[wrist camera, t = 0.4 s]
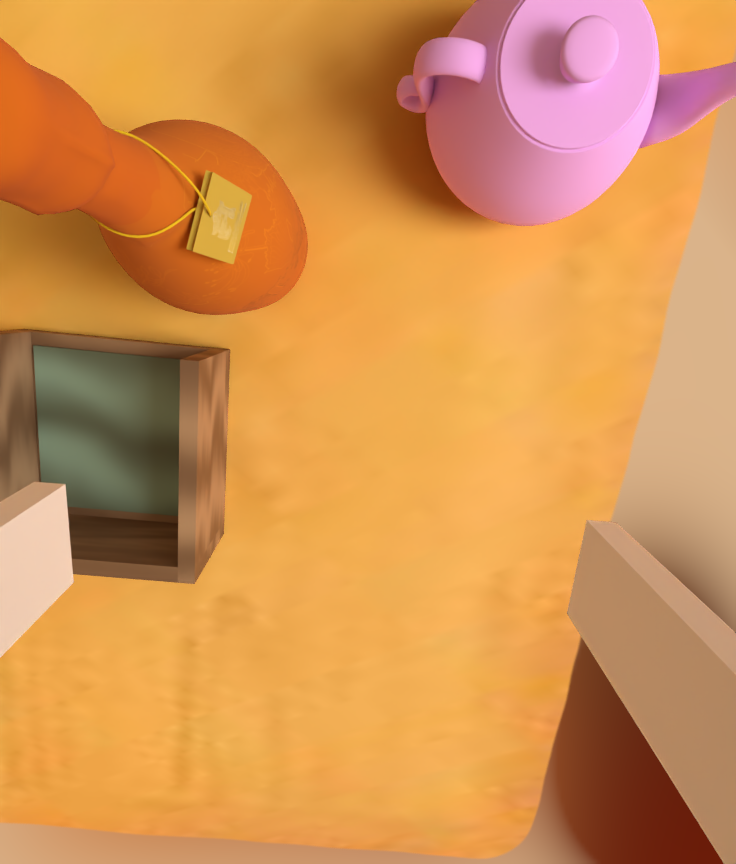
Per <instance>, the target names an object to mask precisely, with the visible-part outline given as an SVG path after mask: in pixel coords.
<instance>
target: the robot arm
mask: <svg viewBox="0 0 736 864" xmlns="http://www.w3.org/2000/svg"><path fill="white" fill-rule="evenodd" d="M73 582H74V581H73V569H72V557H71V545H70V533H69V521H68V509H67V497H66V484H58V483H43V482H33V483H31V484H30V485H28V486H26V487H24V488H23V489H21V490H19V491H18V492H16V493H14V494H13V495H11V496H9V497H8V498H6V499H4V500H3V501H1V502H0V657H1V656H2V655H3V654H4V653H5V652H6V651H7V650H8V649H9V648H10V647H11V646H12V645H13V644H14V643H15V642H16V641H17V640H18V639H19V638H20V637H21V636H22V635H23V634H24V633H25V632H26V631H27V630H28V629H29V627H30V626H31V625H32V624H33V623H34V622H35V621H36V620H37V619H38V618H39V617H40V616H41V615H42V614H43V613H44V612H45V611H46V610H47V609H48V608H49V607H50V606H51V605H52V604H53V603H54V602H55V601H56V600H57V599H58V598H59V597H60V596H61V595H62V594H63V593H64V592H65V591H66V590H67V589H68V588H69V586H70V585H71V584H72V583H73ZM567 614H568V616H569V618H570V619H571V621H572V622H573V624H574V626H575V627H576V629H577V630H578V632H579V633H580V635H581V637H582V638H583V640H584V641H585V643H586V645H587V646H588V648H589V649H590V651H591V652H592V654H593V656H594V657H595V659H596V661H597V662H598V663H599V665H600V667H601V668H602V670H603V672H604V673H605V675H606V676H607V678H608V680H609V681H610V683H611V684H612V686H613V688H614V689H615V691H616V692H617V694H618V696H619V697H620V699H621V700H622V702H623V703H624V705H625V706H626V708H627V710H628V712H629V713H630V714H631V716H632V718H633V719H634V721H635V723H636V724H637V726H638V727H639V729H640V730H641V732H642V734H643V735H644V737H645V738H646V740H647V742H648V743H649V745H650V747H651V748H652V750H653V751H654V753H655V754H656V756H657V757H658V759H659V761H660V762H661V764H662V766H663V767H664V769H665V770H666V772H667V774H668V775H669V777H670V778H671V780H672V782H673V783H674V785H675V786H676V788H677V789H678V791H679V793H680V794H681V796H682V797H683V799H684V801H685V802H686V804H687V805H688V807H689V808H690V810H691V812H692V813H693V815H694V817H695V818H696V820H697V821H698V823H699V825H700V826H701V828H702V829H703V831H704V832H705V834H706V836H707V837H708V839H709V840H710V842H711V844H712V845H713V847H714V848H715V850H716V851H717V853H718V855H719V856H720V858H721V860H722V861H723V863H724V864H736V632H734V631H733V630H732V629H731V628H730V627H729V626H728V625H727V624H725V623H724V622H723V621H722V620H721V619H720V618H719V617H718V616H717V615H716V614H714V613H713V611H711V610H710V609H709V608H708V607H707V606H706V605H705V604H704V603H703V602H702V601H700V600H699V599H698V598H697V597H696V596H695V595H694V594H693V593H692V592H691V591H690V590H689V589H688V588H686V587H685V586H684V585H683V584H682V583H681V582H680V581H679V580H678V579H677V578H676V577H675V576H674V575H673V574H671V573H670V572H669V571H668V570H667V569H666V568H665V567H664V566H663V565H662V564H661V563H659V562H658V561H657V560H656V559H655V558H654V557H653V556H652V555H651V554H650V553H649V552H648V551H646V550H645V549H644V548H643V547H642V546H641V545H640V544H639V543H638V542H637V541H636V540H635V539H634V538H633V537H631V536H630V535H629V534H628V533H627V532H626V531H625V530H624V529H623V528H622V527H621V526H620V525H619V524H617V523H616V522H604V521H590V520H587V522H586V526H585V531H584V536H583V541H582V545H581V550H580V555H579V559H578V564H577V569H576V574H575V578H574V583H573V588H572V592H571V597H570V602H569V607H568V611H567Z"/></svg>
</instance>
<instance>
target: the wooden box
mask: <svg viewBox="0 0 736 864" xmlns="http://www.w3.org/2000/svg"><path fill="white" fill-rule="evenodd" d="M229 365H230V349H221V348H210V347H200V346H190V345H180V344H170V343H160V342H150V341H140V340H129V339H119V338H109V337H99V336H89V335H79V334H69V333H59V332H49V331H38V330H28V329H20V330H9V331H0V502H1V501H3V500H4V499H6V498H8V497H9V496H11V495H13V494H14V493H16V492H18V491H19V490H21V489H23V488H24V487H26V486H28V485H30V484H31V483H33V482H43V483H58V484H66V497H67V509H68V521H69V533H70V545H71V557H72V569H73V574H79V575H91V576H104V577H116V578H128V579H141V580H153V581H166V582H178V583H190V584H195V582H196V580H197V579H198V577H199V575H200V574H201V572H202V570H203V568H204V567H205V565H206V563H207V562H208V560H209V558H210V556H211V555H212V553H213V551H214V550H215V548H216V546H217V544H218V543H219V541H220V539H221V537H222V536H223V534H224V510H225V481H226V452H227V423H228V394H229Z"/></svg>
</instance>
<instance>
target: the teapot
mask: <svg viewBox="0 0 736 864" xmlns="http://www.w3.org/2000/svg"><path fill="white" fill-rule="evenodd" d="M659 67H660V62H659V51H658V42H657V37H656V32H655V27H654V24H653V22H652V19H651V16H650V14H649V12H648V10H647V8H646V6H645V4H644V3H643V1H642V0H477V1H476V2H475V3H474V4H473V5H472V6H471V7H470V8H469V9H468V10H467V11H466V12H465V13H464V15H463V16H462V17H461V18H460V20H459V21H458V22H457V24H456V25H455V26H454V28H453V29H452V31H451V32H450V34H449V35H448V37H441V38H435V39H432V40H429V41H427V42H426V43H425V44H423V45H422V47H421V48H420V50H419V51H418V53H417V56H416V59H415V63H414V70H413V75H407V76H404V77H403V78H402V79H401V80H400V82H399V84H398V87H397V100H398V103H399V104H400V105H401V106H402V107H403V108H405V109H407V110H409V111H411V112H415V113H424V112H426V129H427V137H428V142H429V147H430V150H431V153H432V156H433V159H434V162H435V164H436V167H437V169H438V171H439V173H440V175H441V177H442V178H443V180H444V181H445V183H446V184H447V186H448V187H449V188H450V190H451V191H452V192H453V193H454V194H455V196H456V197H457V198H458V199H460V200H461V201H462V202H463V203H464V204H465V205H466V206H468V207H469V208H470V209H472V210H473V211H475V212H476V213H478V214H480V215H482V216H484V217H486V218H488V219H491V220H494V221H497V222H500V223H504V224H510V225H517V226H533V225H541V224H546V223H550V222H554V221H557V220H560V219H562V218H565V217H567V216H570V215H572V214H574V213H575V212H577V211H579V210H581V209H582V208H584V207H586V206H587V205H589V204H590V203H592V202H593V201H594V200H596V199H597V198H598V197H599V196H600V195H601V194H602V193H604V192H605V191H606V190H607V189H608V188H609V187H610V186H611V185H612V184H613V183H614V182H615V181H616V179H617V178H618V177H619V176H620V175H621V173H622V172H623V171H624V170H625V168H626V167H627V166H628V164H629V163H630V161H631V160H632V158H633V157H634V155H635V154H636V152H637V150H638V149H639V148H642V147H646V146H649V145H652V144H656V143H659V142H662V141H665V140H668V139H670V138H673V137H675V136H677V135H679V134H681V133H682V132H684V131H686V130H687V129H689V128H690V127H692V126H693V125H694V124H696V123H697V122H698V121H700V120H701V119H702V118H704V117H705V116H706V115H707V114H709V113H710V112H711V111H713V110H714V109H715V108H717V107H718V106H720V105H721V104H723V103H724V102H726V101H728V100H730V99H732V98H734V97H736V62H733V63H729V64H725V65H721V66H717V67H713V68H709V69H704V70H699V71H692V72H685V73H677V74H668V75H659Z"/></svg>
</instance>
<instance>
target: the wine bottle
mask: <svg viewBox="0 0 736 864" xmlns="http://www.w3.org/2000/svg"><path fill="white" fill-rule="evenodd" d="M0 200H3V201H6V202H9V203H12V204H14V205H17V206H20V207H22V208H24V209H26V210H28V211H30V212H32V213H34V214H37V215H41V214H56V213H61V212H66V211H71V210H74V209H78V210H80V211H82V212H84V213H86V214H88V215H89V216H90V217H91V218H92V219H93V220H95V221H96V222H97V223H98V225H99V228H100V230H101V233H102V235H103V238H104V240H105V242H106V244H107V246H108V247H109V249H110V251H111V252H112V254H113V255H114V257H115V258H116V260H117V261H118V263H119V264H120V265H121V266H122V268H123V269H124V270H125V271H126V272H127V273H128V275H129V276H130V277H131V278H132V279H133V280H135V281H136V282H137V283H138V284H139V285H140V286H141V287H142V288H144V289H145V290H146V291H147V292H149V293H150V294H152V295H153V296H155V297H156V298H158V299H160V300H161V301H163V302H165V303H167V304H169V305H172V306H174V307H176V308H179V309H182V310H185V311H189V312H194V313H199V314H210V315H222V314H234V313H241V312H246V311H251V310H256V309H259V308H262V307H265V306H268V305H270V304H272V303H274V302H276V301H278V300H279V299H281V298H282V297H283V296H285V295H286V294H287V293H288V292H289V291H290V290H291V289H292V288H293V286H294V285H295V284H296V282H297V281H298V279H299V277H300V275H301V273H302V271H303V268H304V266H305V262H306V257H307V247H308V243H307V233H306V227H305V224H304V220H303V217H302V215H301V213H300V210H299V208H298V206H297V204H296V202H295V200H294V198H293V196H292V194H291V192H290V191H289V189H288V187H287V186H286V184H285V183H284V181H283V179H282V178H281V176H280V175H279V173H278V172H277V171H276V170H275V168H274V167H273V166H272V165H271V163H270V162H269V161H268V160H267V159H266V158H265V157H264V156H263V155H262V154H261V153H260V152H259V151H258V150H257V149H256V148H255V147H253V146H252V145H251V144H250V143H248V142H247V141H246V140H244V139H243V138H241V137H239V136H238V135H236V134H234V133H232V132H230V131H228V130H226V129H223V128H221V127H218V126H215V125H212V124H209V123H205V122H199V121H193V120H166V121H159V122H154V123H150V124H147V125H144V126H141V127H139V128H136V129H134V130H132V131H130V132H129V133H127V132H124V131H120V130H113V129H110V128H108V127H106V126H104V125H102V123H101V121H100V119H99V118H98V116H97V115H96V113H95V112H94V111H93V109H92V108H91V106H90V105H89V104H88V103H87V102H86V101H85V100H84V99H83V98H82V97H81V96H80V95H79V94H78V93H77V92H76V91H75V90H73V89H72V88H71V87H70V86H69V85H67V84H66V83H65V82H64V81H63V80H61V79H59V78H57V77H55V76H53V75H51V74H49V73H47V72H45V71H43V70H41V69H38V68H36V67H34V66H32V65H30V64H29V63H27V62H26V61H25V60H24V59H23V58H22V57H21V56H20V55H19V54H18V52H17V51H16V50H15V49H13V48H12V47H11V46H10V45H9V44H7V43H6V42H5V41H4V40H3V39H1V38H0Z"/></svg>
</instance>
